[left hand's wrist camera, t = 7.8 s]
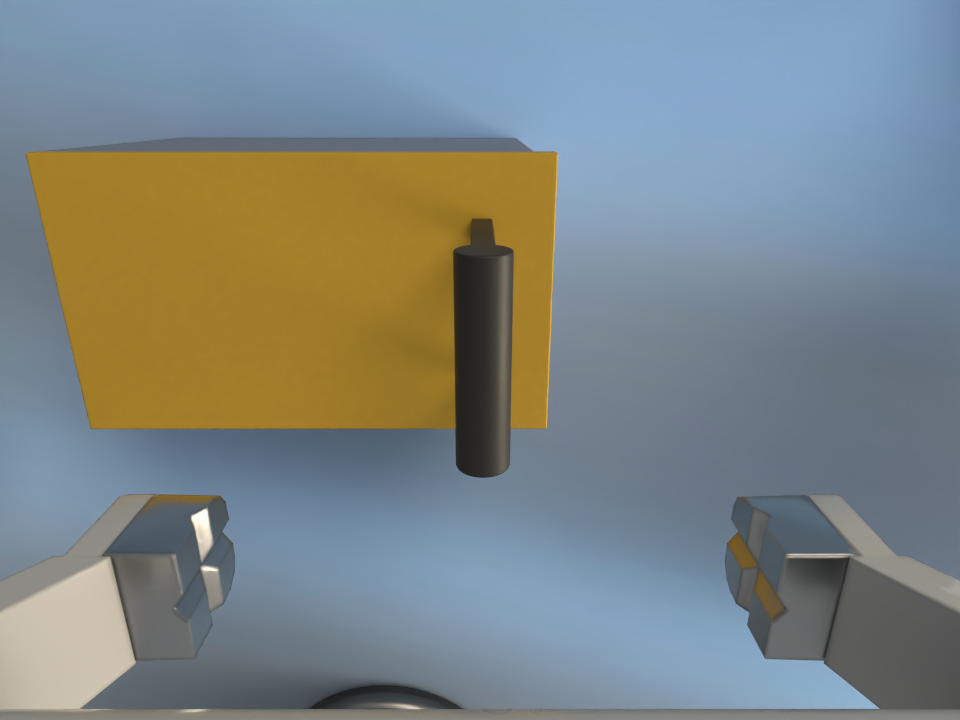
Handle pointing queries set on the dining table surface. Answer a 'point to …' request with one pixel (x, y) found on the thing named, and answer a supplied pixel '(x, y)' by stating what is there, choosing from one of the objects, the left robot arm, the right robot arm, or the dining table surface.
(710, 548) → the dining table surface
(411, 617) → the dining table surface
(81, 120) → the dining table surface
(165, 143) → the chest
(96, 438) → the dining table surface
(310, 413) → the lid
